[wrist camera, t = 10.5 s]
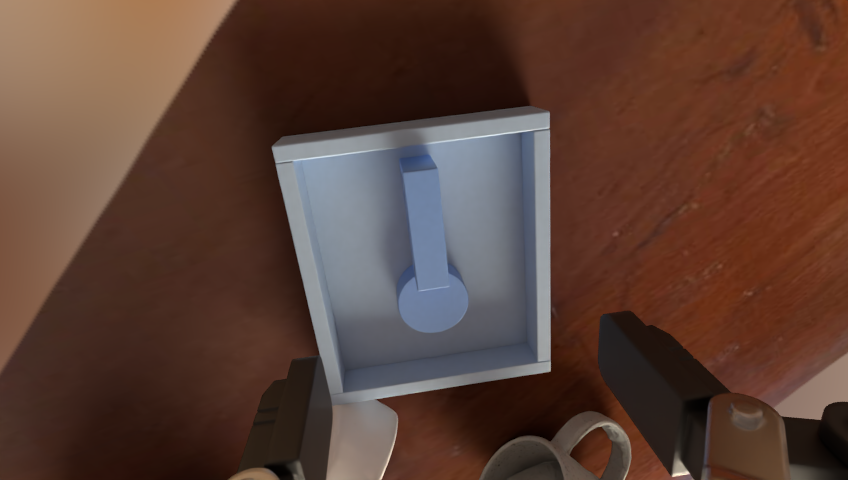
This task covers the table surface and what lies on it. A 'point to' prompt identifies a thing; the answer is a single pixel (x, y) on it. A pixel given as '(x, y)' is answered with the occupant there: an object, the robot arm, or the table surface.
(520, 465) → the ceramic mug
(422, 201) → the blue spoon
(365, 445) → the spoon rest
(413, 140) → the blue tray
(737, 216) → the table surface
